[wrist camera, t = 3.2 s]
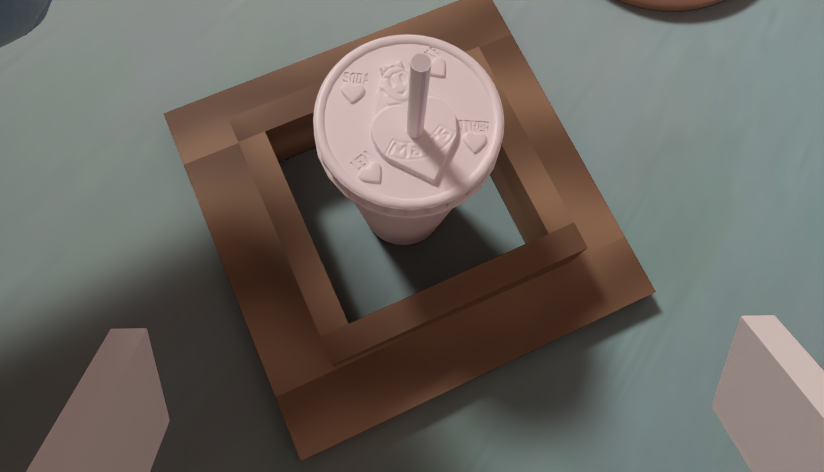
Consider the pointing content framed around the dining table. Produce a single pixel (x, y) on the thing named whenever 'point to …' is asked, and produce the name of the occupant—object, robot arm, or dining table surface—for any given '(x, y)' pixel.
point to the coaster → (671, 4)
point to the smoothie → (407, 132)
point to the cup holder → (426, 310)
